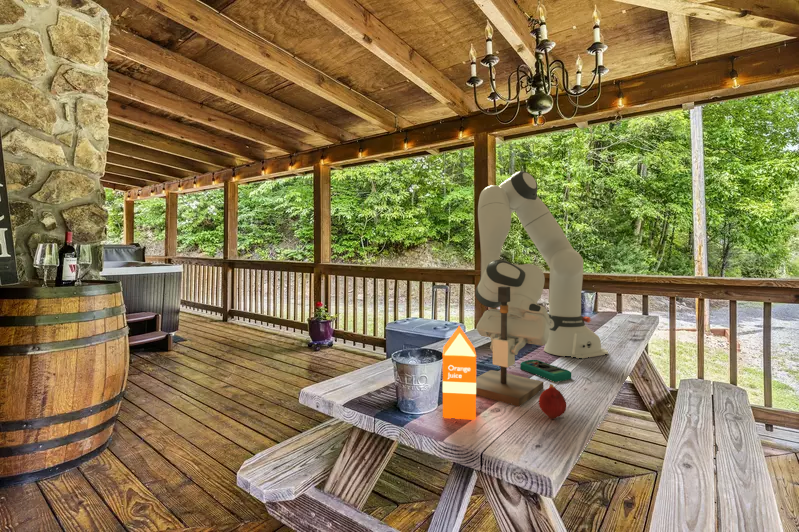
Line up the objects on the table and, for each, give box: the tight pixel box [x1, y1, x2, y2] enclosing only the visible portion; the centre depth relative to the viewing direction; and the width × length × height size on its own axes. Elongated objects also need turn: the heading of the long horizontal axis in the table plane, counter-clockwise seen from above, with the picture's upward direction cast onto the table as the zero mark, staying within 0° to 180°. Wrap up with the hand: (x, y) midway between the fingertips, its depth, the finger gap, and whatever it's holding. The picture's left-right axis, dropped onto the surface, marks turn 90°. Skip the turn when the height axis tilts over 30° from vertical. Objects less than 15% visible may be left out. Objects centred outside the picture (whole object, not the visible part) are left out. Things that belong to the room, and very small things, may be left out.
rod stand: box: [476, 286, 544, 408], centre depth 104 cm, size 16×16×28 cm
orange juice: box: [441, 325, 477, 421], centre depth 90 cm, size 8×9×20 cm
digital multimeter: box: [519, 359, 572, 383], centre depth 118 cm, size 7×15×3 cm, turn 25°
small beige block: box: [492, 336, 516, 369], centre depth 104 cm, size 4×4×7 cm
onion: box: [538, 383, 567, 420], centre depth 86 cm, size 6×6×8 cm
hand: (503, 351), depth 103 cm, fingers open, 4 cm apart
